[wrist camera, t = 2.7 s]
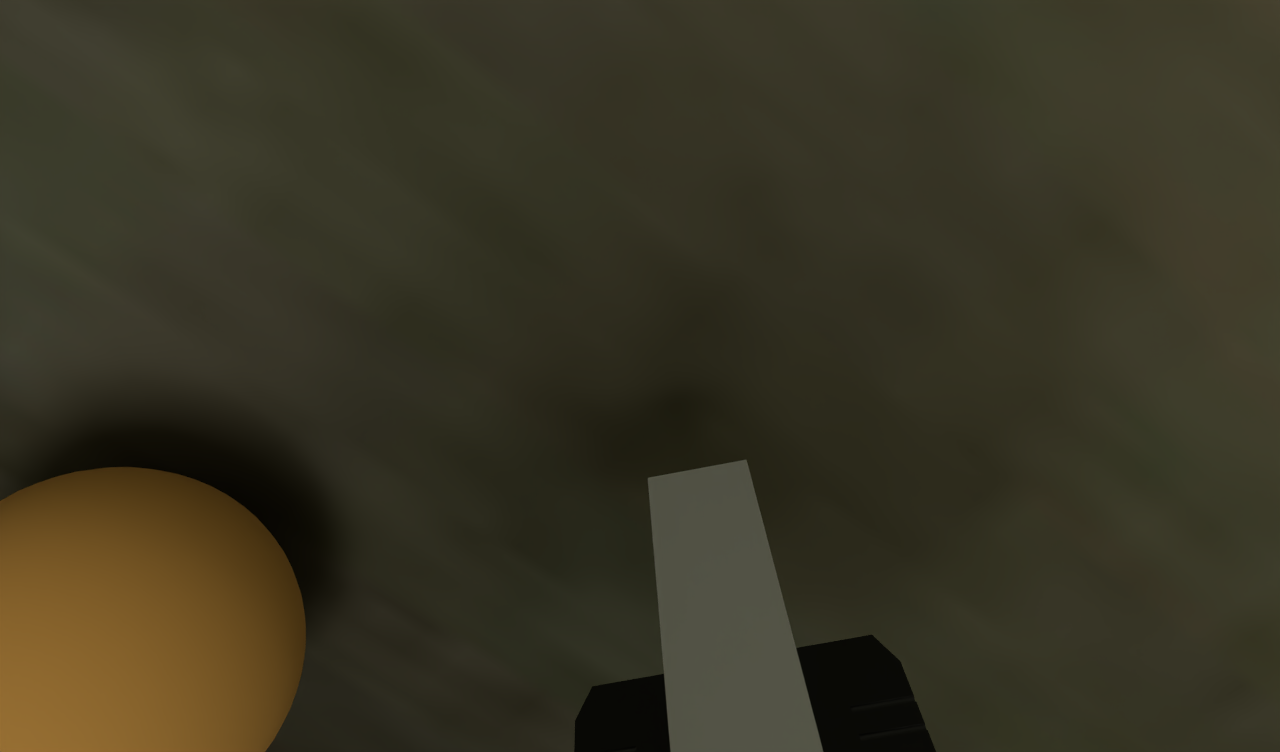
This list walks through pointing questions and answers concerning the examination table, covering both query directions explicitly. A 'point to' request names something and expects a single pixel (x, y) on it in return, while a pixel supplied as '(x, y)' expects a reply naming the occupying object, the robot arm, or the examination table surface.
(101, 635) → the ball
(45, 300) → the examination table surface
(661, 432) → the examination table surface
